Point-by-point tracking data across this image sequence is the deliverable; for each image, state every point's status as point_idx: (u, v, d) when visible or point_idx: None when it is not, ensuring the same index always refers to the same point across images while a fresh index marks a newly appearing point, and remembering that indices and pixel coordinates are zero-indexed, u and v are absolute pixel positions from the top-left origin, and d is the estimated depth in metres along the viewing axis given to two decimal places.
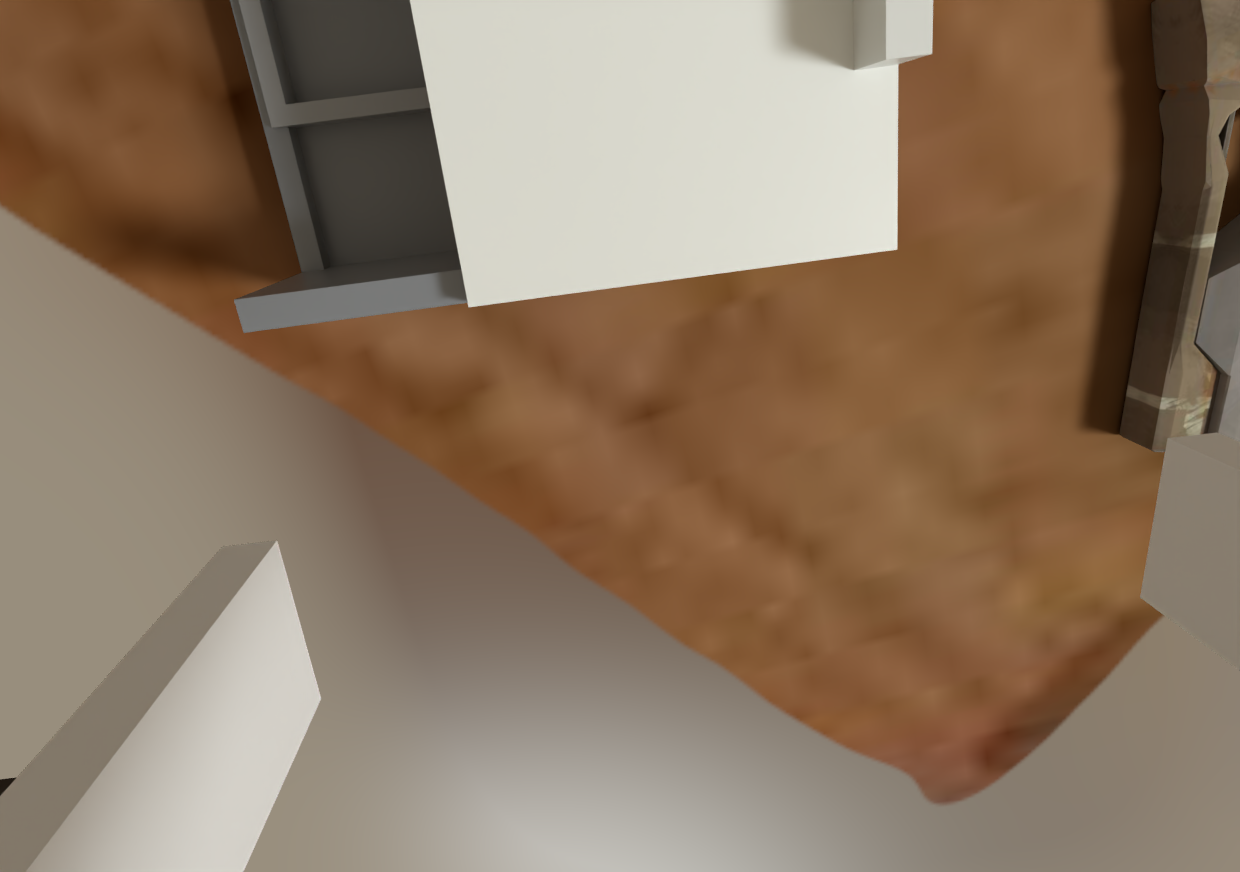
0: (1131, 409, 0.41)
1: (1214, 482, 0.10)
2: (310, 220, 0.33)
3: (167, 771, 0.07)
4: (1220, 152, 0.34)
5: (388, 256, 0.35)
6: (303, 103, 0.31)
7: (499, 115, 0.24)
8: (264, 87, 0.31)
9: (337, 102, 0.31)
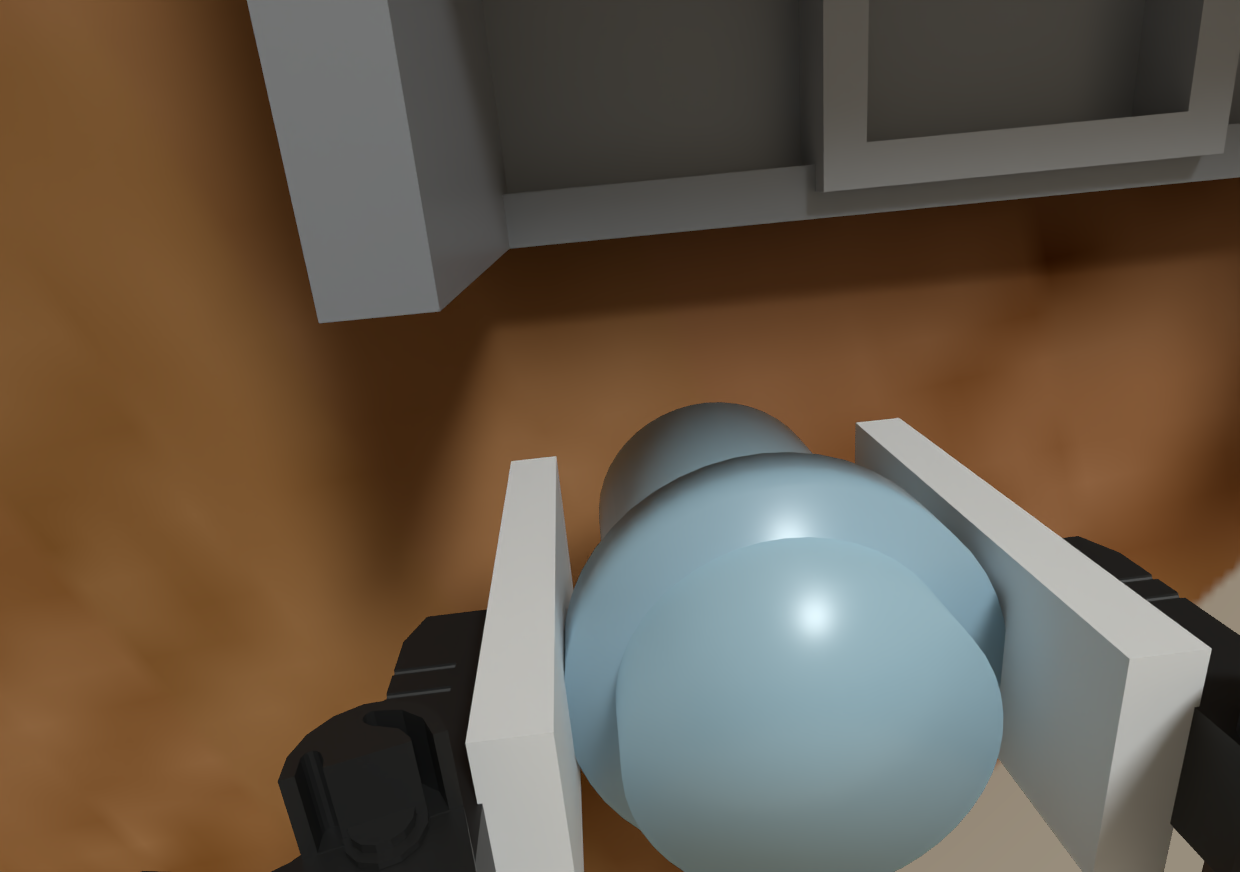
0: None
1: (876, 459, 0.12)
2: None
3: (562, 609, 0.09)
4: None
5: None
6: (1198, 67, 0.14)
7: None
8: (1145, 153, 0.14)
9: None
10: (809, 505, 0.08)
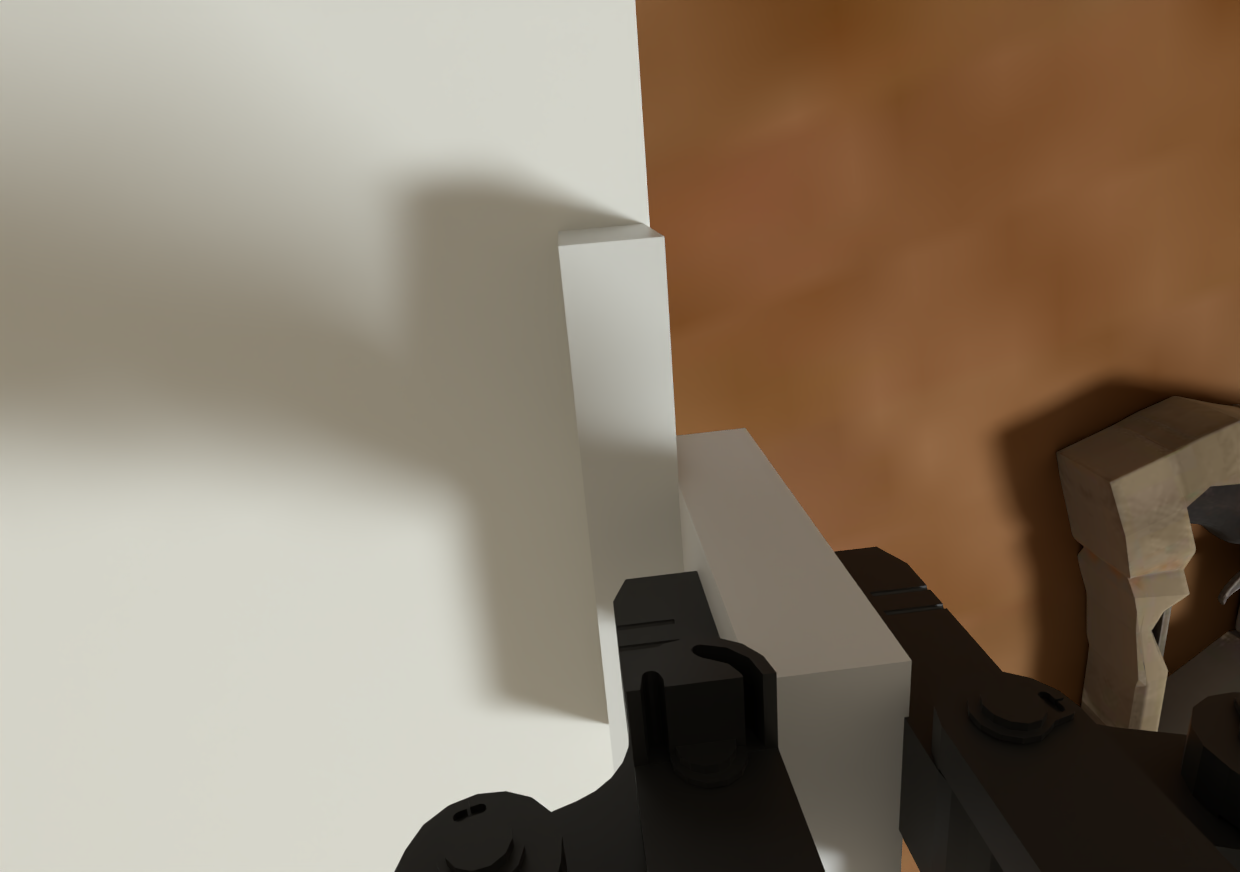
0: None
1: None
2: None
3: None
4: (1155, 649, 0.26)
5: None
6: None
7: (30, 793, 0.15)
8: None
9: None
10: None
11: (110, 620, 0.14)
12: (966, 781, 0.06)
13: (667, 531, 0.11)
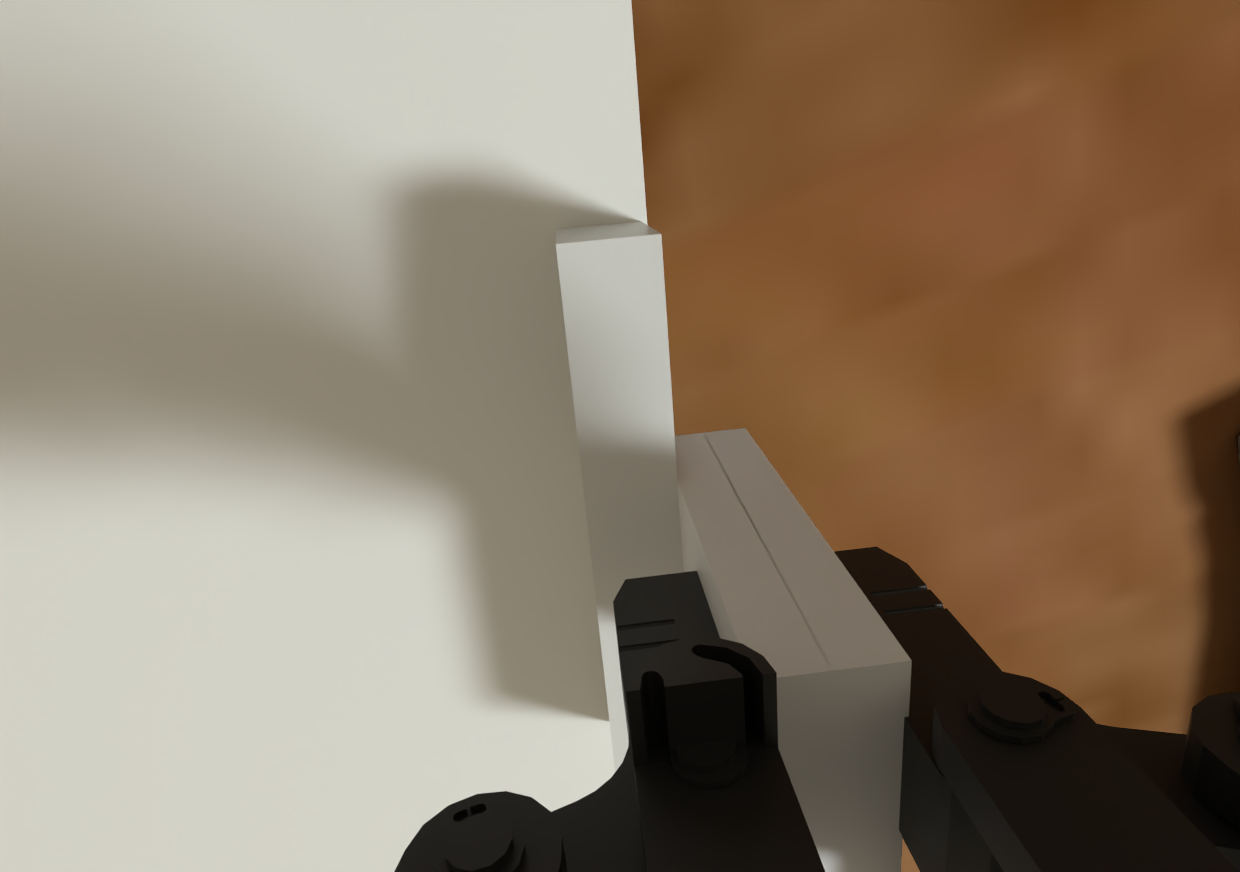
0: None
1: None
2: None
3: None
4: None
5: None
6: None
7: (34, 793, 0.15)
8: None
9: None
10: None
11: (111, 619, 0.14)
12: (966, 782, 0.06)
13: (666, 528, 0.11)
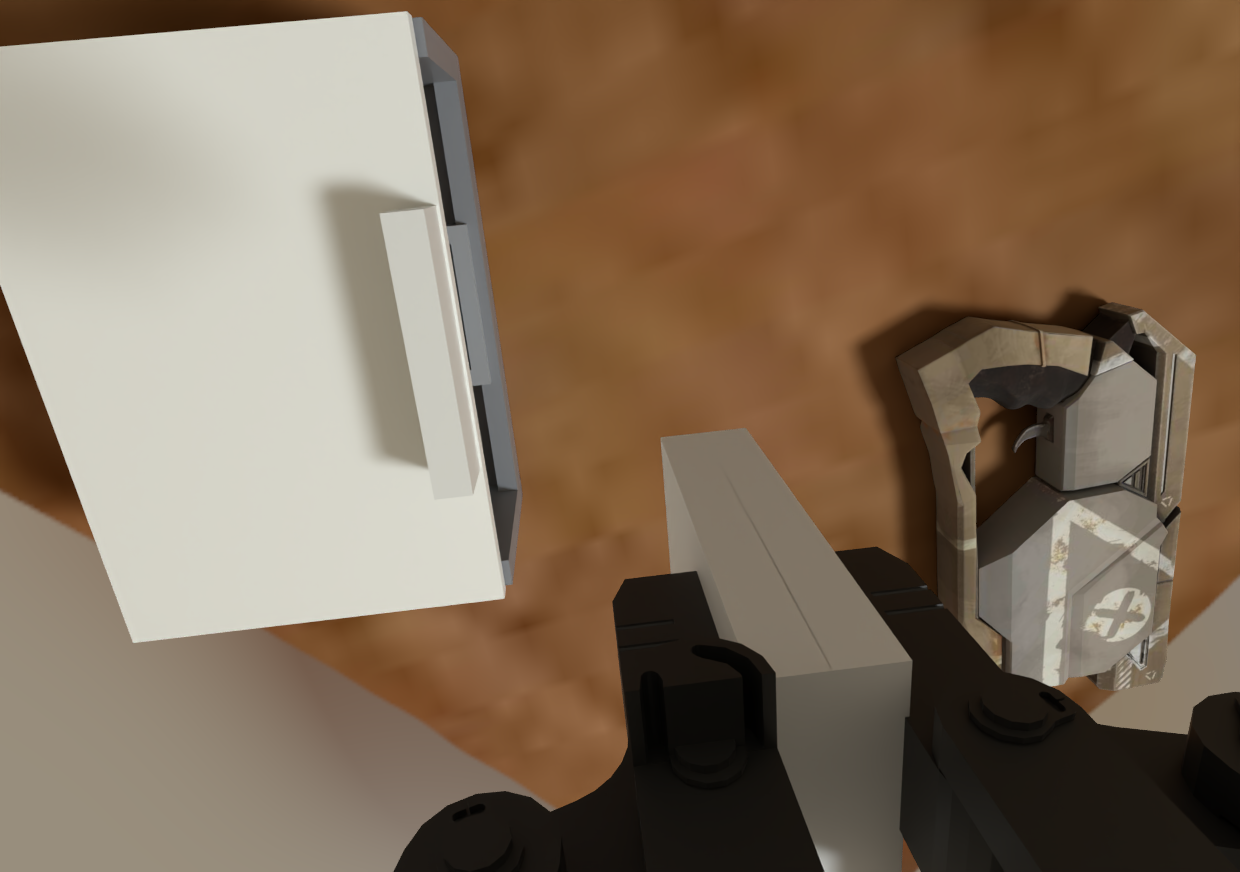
0: None
1: None
2: None
3: None
4: (965, 480, 0.40)
5: None
6: None
7: (141, 506, 0.29)
8: None
9: None
10: None
11: (184, 407, 0.28)
12: (965, 781, 0.06)
13: (440, 343, 0.25)
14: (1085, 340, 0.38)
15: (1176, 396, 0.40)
